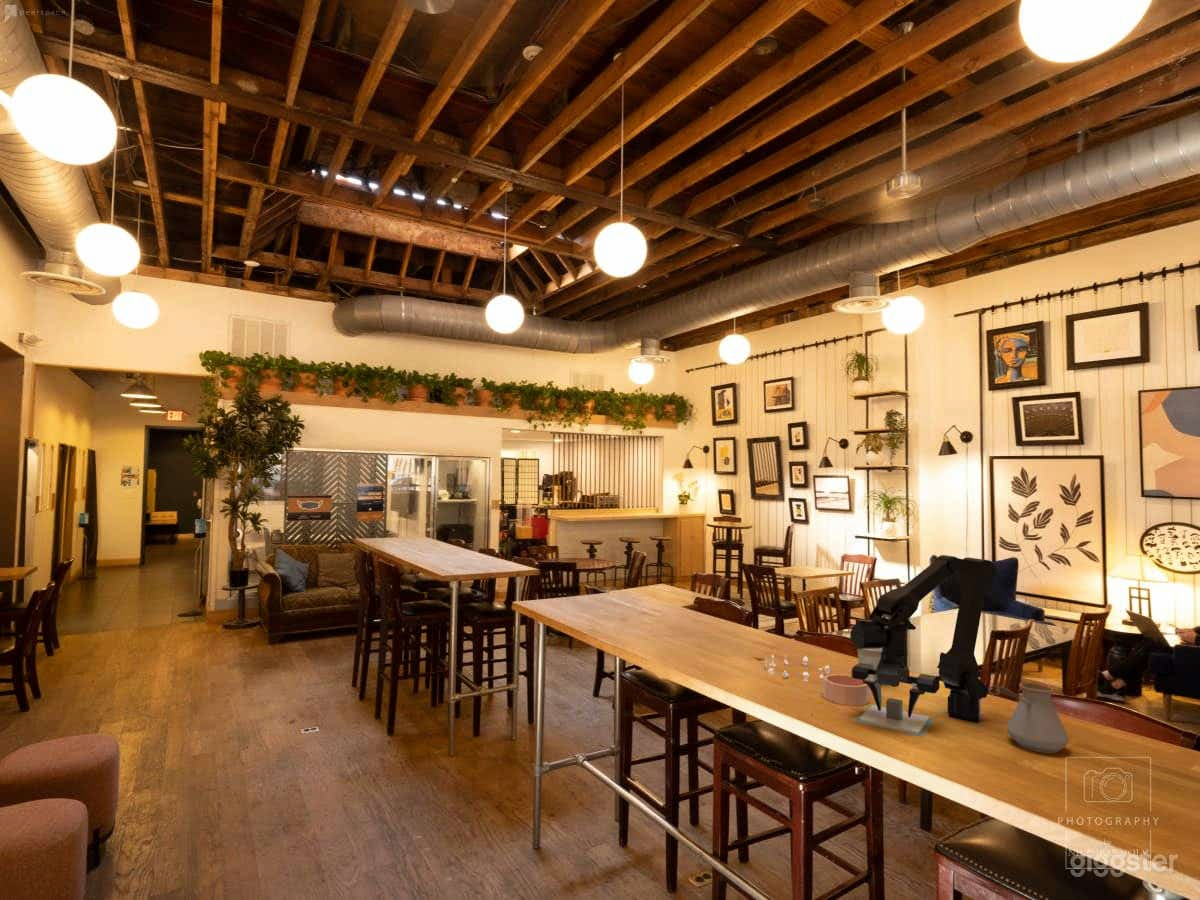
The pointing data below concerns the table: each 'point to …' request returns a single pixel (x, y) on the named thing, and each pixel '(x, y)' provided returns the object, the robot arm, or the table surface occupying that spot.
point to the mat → (898, 730)
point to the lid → (895, 717)
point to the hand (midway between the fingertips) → (894, 713)
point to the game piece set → (806, 674)
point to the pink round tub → (845, 690)
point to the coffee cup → (870, 656)
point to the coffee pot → (1035, 719)
